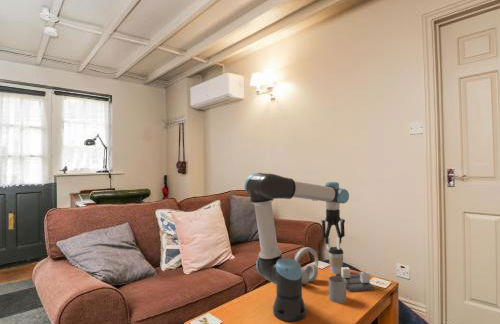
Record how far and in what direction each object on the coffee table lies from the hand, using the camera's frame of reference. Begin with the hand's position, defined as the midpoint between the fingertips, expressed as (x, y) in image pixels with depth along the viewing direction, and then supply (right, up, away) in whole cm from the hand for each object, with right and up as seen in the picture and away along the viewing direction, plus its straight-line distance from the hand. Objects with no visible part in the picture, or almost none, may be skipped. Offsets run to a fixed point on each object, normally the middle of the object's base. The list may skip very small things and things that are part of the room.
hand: (333, 249), depth 167 cm
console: (+11, -19, -3) cm, 22 cm away
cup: (-4, -19, -20) cm, 28 cm away
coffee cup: (+6, -19, +15) cm, 25 cm away
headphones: (-16, -19, 0) cm, 25 cm away
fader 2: (+16, -16, -7) cm, 23 cm away
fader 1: (+7, -16, +1) cm, 18 cm away
